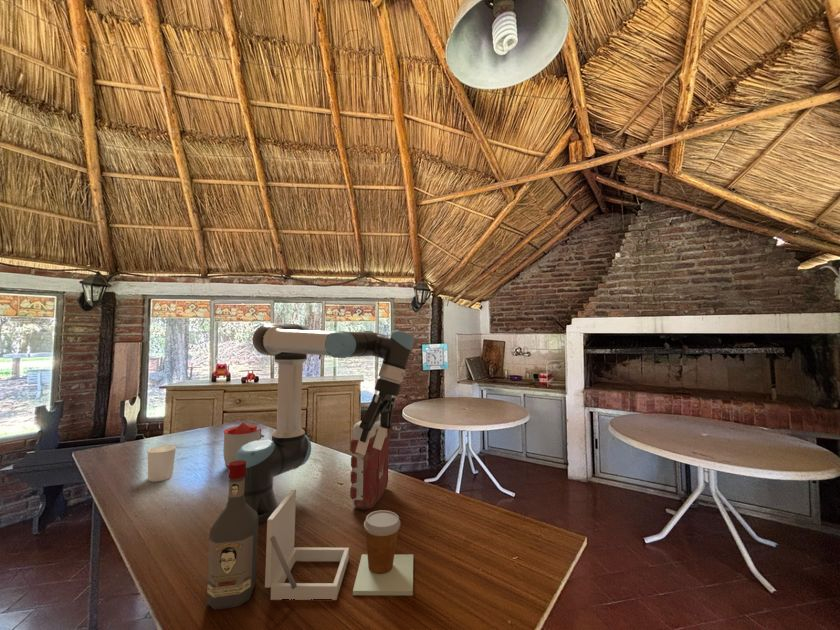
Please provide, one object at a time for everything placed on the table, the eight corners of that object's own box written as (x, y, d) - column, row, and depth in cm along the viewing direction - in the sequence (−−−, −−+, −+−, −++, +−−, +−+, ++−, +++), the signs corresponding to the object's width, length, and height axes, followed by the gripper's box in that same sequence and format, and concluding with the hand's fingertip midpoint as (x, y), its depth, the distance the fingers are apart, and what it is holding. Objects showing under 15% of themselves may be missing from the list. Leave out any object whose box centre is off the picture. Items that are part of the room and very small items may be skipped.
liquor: (216, 584, 86) (222, 457, 88) (257, 579, 88) (262, 455, 90) (203, 613, 77) (209, 471, 79) (248, 606, 79) (254, 468, 81)
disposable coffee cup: (363, 555, 96) (365, 509, 97) (398, 554, 97) (400, 509, 98) (360, 579, 87) (362, 528, 87) (399, 578, 87) (401, 527, 88)
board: (352, 595, 83) (352, 590, 83) (361, 558, 97) (361, 554, 97) (412, 595, 83) (412, 590, 83) (413, 558, 97) (413, 554, 97)
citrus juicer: (268, 466, 164) (270, 422, 166) (228, 476, 152) (230, 428, 154) (256, 457, 176) (258, 416, 177) (217, 466, 163) (219, 422, 165)
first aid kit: (371, 514, 121) (373, 424, 123) (348, 511, 122) (350, 423, 124) (390, 486, 143) (391, 411, 145) (370, 484, 145) (372, 410, 147)
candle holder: (140, 480, 147) (141, 450, 148) (164, 471, 156) (166, 444, 157) (155, 484, 143) (157, 453, 144) (179, 475, 152) (181, 446, 153)
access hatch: (263, 602, 80) (266, 520, 81) (289, 557, 97) (291, 489, 98) (335, 602, 80) (337, 520, 82) (349, 558, 97) (350, 490, 98)
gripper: (388, 380, 96) (364, 460, 92) (411, 386, 119) (393, 450, 115) (363, 373, 98) (339, 451, 94) (391, 380, 122) (372, 443, 118)
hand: (368, 451), depth 105 cm, fingers open, 13 cm apart
